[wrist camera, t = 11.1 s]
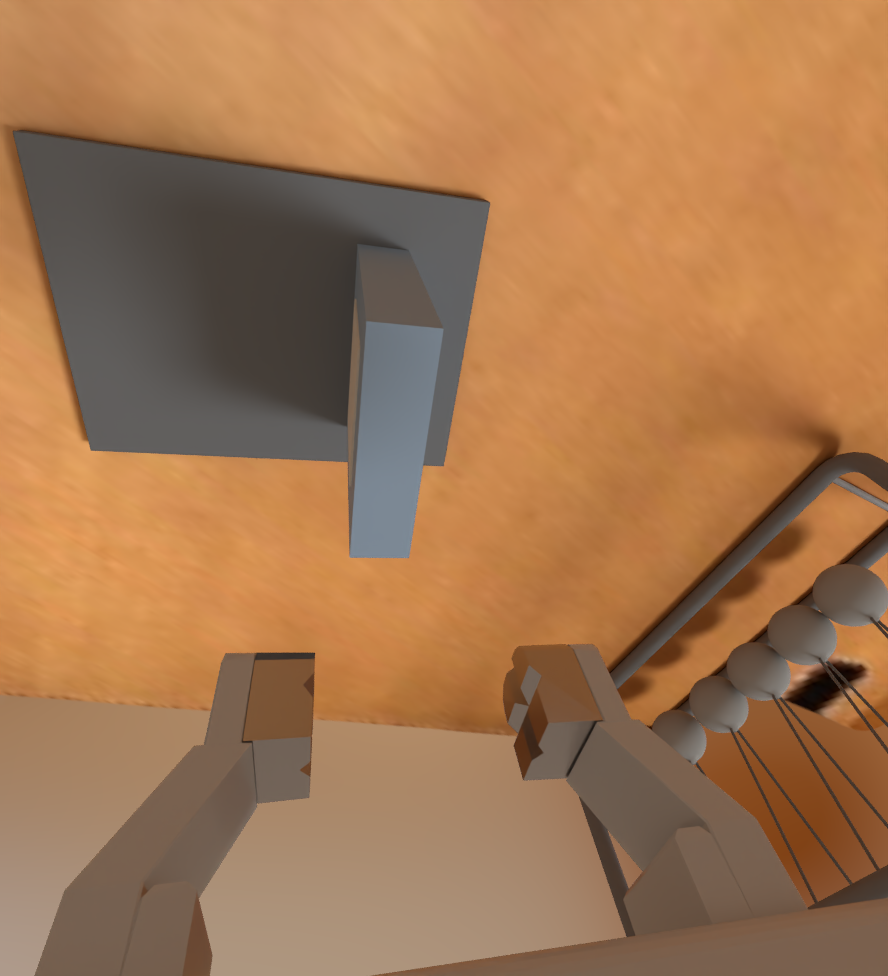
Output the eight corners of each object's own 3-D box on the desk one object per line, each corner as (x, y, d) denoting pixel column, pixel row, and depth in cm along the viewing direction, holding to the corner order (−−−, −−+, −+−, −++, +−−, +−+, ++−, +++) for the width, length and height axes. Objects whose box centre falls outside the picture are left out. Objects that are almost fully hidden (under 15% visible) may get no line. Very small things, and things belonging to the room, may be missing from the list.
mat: (21, 129, 18) (12, 131, 18) (486, 200, 21) (490, 203, 21) (95, 443, 25) (90, 450, 24) (441, 459, 28) (443, 466, 28)
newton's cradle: (644, 743, 49) (769, 1008, 35) (552, 726, 45) (650, 1019, 31) (939, 490, 36) (1342, 755, 21) (844, 434, 31) (1263, 715, 17)
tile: (345, 426, 26) (347, 557, 18) (355, 243, 21) (363, 320, 14) (389, 429, 26) (408, 557, 19) (409, 250, 22) (443, 328, 14)
